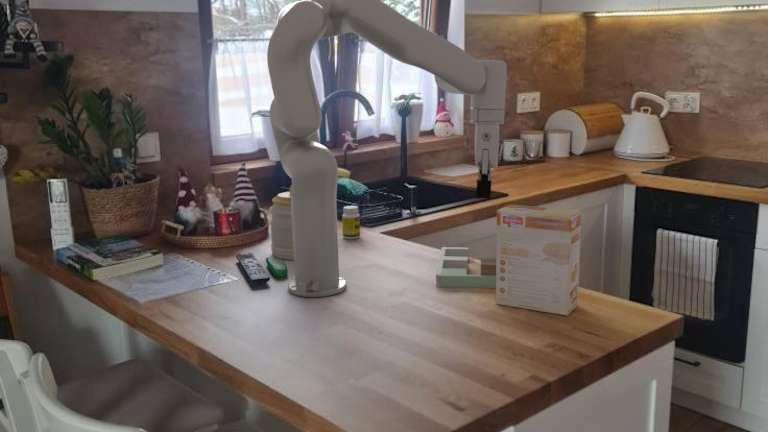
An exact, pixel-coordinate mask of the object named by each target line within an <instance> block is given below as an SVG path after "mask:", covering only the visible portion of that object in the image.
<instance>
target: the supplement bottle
mask: <svg viewBox="0 0 768 432" xmlns="http://www.w3.org/2000/svg"><path fill="white" fill-rule="evenodd" d="M341 216H342V217H341V218H342V220H341V221H342V237H343V238H344V239H345V240H346V239H347V240H355V239H359V238H361V222H360V221H361V220H360V219H361V218H360V213H359V206H357V205H346V206H344V207H343V214H342V215H341Z"/></svg>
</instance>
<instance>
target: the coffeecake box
mask: <svg viewBox="0 0 768 432" xmlns="http://www.w3.org/2000/svg"><path fill="white" fill-rule="evenodd" d="M581 224H582V210H577V209H566V208H554V207H545V206H543V207H542V206H531V205H519V204H507V205H505V206H504V207H501V208H499V209H497V210H496V257H495V258H496V288H495V305H498V306H499V305H500V306H507V307H514V308H518V309H525V310H532V311H538V312H543V313H549V314H556V315H562V316H567V317H568V316H569V315H570V313H571V312H573V311H574V310H575V309H576V308H578V306H579V288H580V287H579V284H580V282H579V281H580V280H579V279H580V261H581V260H580V253H581V231H582V230H581Z"/></svg>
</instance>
